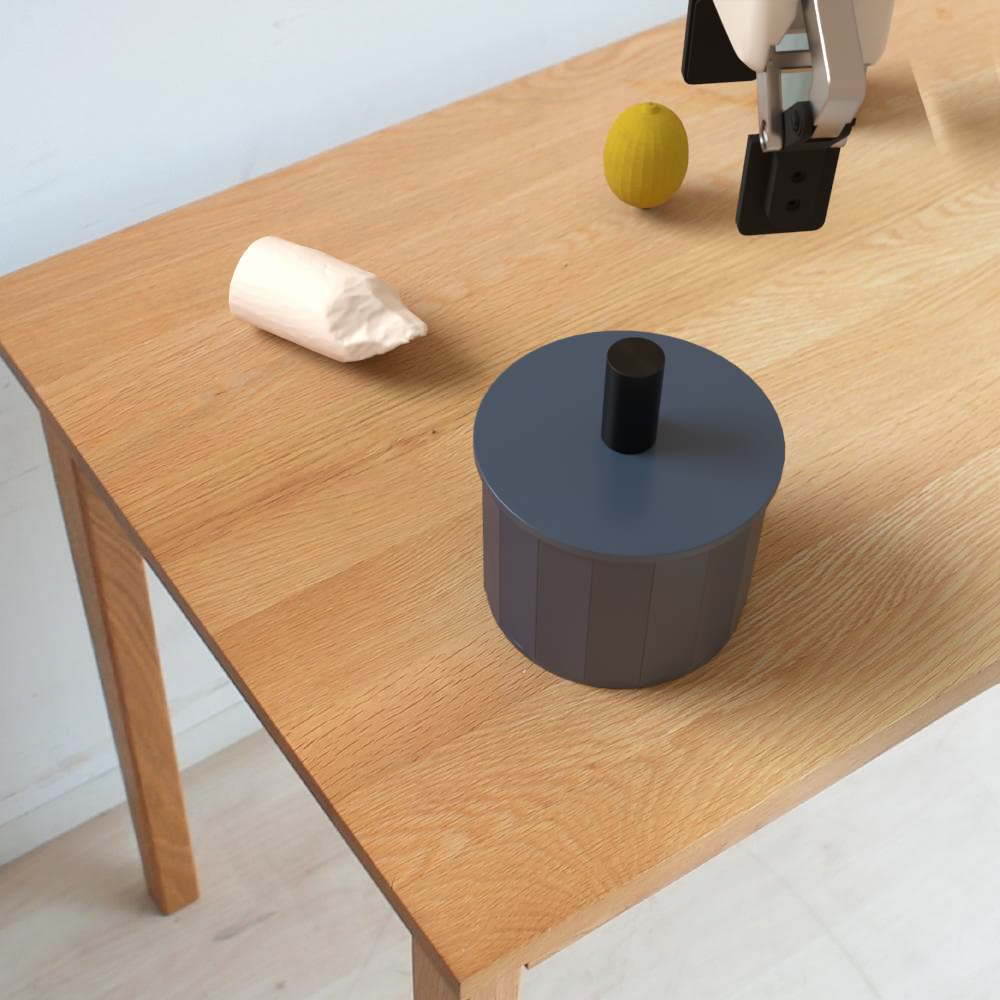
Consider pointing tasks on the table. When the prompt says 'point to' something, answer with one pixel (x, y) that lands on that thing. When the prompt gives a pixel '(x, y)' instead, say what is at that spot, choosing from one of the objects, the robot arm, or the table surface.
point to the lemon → (646, 155)
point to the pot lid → (628, 446)
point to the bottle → (795, 83)
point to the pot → (613, 605)
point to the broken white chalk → (319, 301)
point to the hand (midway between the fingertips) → (747, 149)
